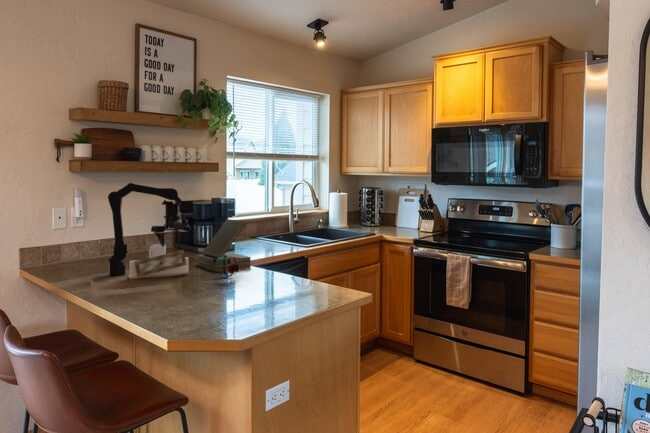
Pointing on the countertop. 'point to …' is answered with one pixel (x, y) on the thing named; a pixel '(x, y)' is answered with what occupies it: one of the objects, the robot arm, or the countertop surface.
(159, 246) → the mug
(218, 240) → the open lidded box
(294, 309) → the countertop surface
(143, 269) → the picture frame
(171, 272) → the long wooden tray
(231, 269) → the binoculars
